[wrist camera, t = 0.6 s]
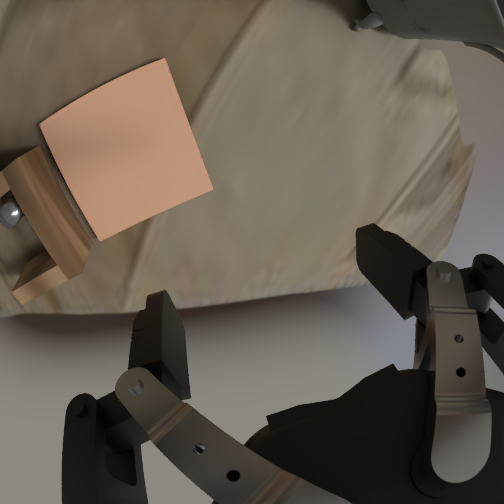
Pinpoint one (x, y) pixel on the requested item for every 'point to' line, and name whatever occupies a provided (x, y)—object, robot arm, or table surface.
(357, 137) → the table surface
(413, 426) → the robot arm
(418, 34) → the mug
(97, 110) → the tile
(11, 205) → the post
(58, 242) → the c link
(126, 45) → the table surface
